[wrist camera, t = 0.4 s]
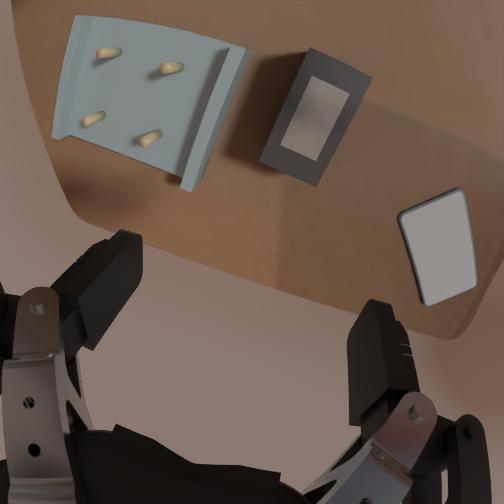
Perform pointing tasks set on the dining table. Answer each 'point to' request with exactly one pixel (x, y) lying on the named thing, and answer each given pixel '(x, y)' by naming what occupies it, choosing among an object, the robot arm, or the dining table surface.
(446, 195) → the smartphone
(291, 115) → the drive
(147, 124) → the tray
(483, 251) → the dining table surface
